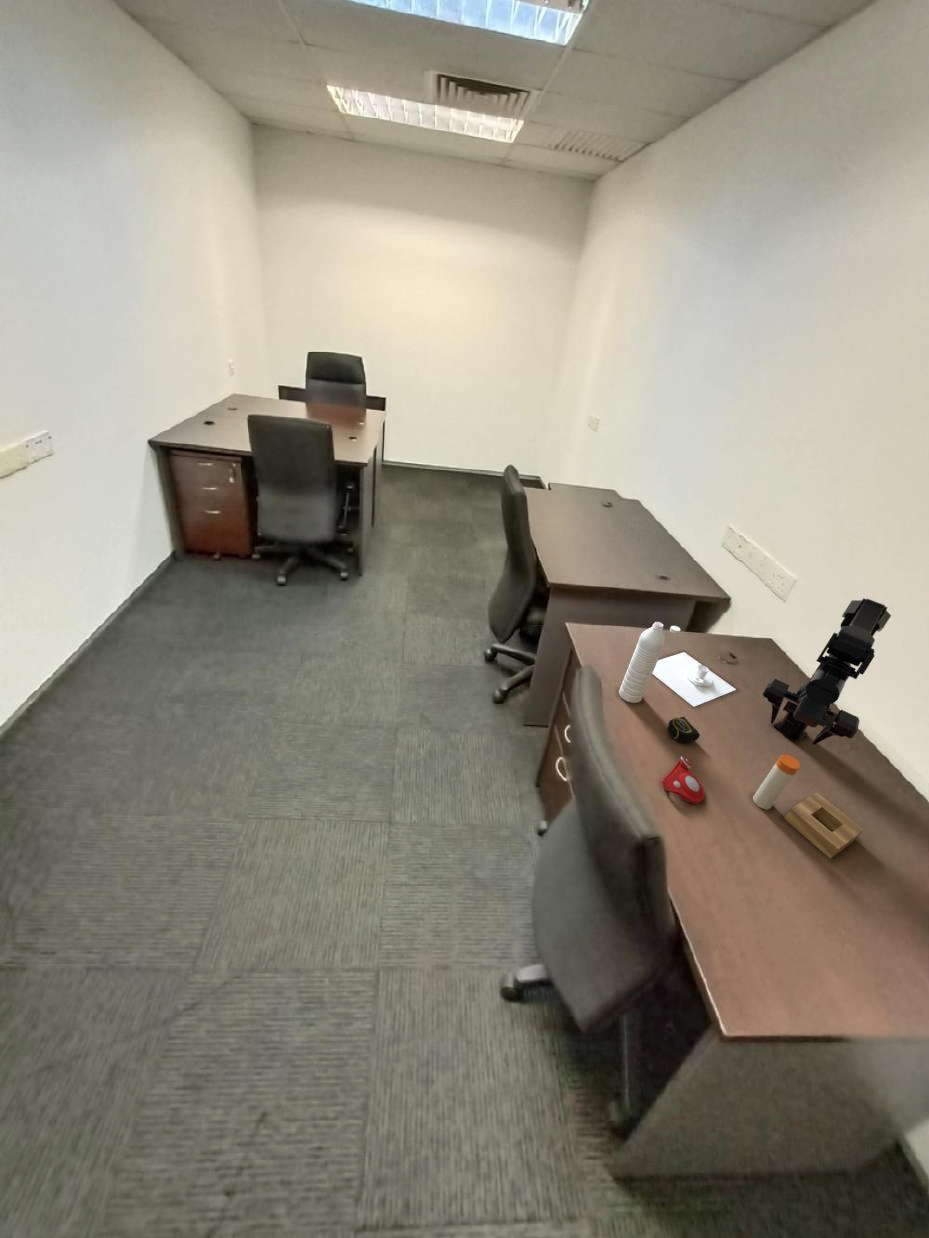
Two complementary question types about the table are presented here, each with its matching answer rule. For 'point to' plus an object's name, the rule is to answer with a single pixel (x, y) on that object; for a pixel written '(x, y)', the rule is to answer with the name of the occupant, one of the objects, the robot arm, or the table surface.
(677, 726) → the tape measure
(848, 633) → the robot arm
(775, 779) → the glue stick
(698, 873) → the table surface
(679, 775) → the tracker holder
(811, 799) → the holder
